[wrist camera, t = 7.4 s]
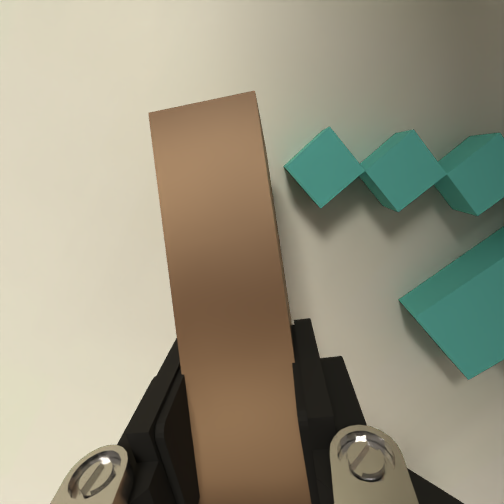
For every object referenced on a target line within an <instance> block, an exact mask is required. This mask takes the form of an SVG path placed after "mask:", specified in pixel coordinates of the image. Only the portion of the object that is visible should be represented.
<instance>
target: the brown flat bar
mask: <svg viewBox="0 0 504 504" xmlns="http://www.w3.org/2000/svg"><path fill="white" fill-rule="evenodd" d="M149 121H150V129H151V137H152V145H153V153H154V161H155V169H156V176H157V184H158V192H159V200H160V208H161V216H162V224H163V232H164V240H165V247H166V255H167V263H168V271H169V279H170V287H171V295H172V303H173V311H174V318H175V326H176V334H177V342H178V350H179V358H180V366H181V374H182V375H183V374H184V376H185V384H186V392H187V399H188V407H189V415H190V423H191V431H192V439H193V446H194V454H195V462H196V470H197V478H198V486H199V493H200V499H199V503H198V504H311V498H310V492H309V486H308V480H307V474H306V468H305V462H304V456H303V450H302V444H301V437H300V431H299V425H298V417H297V409H296V399H295V389H294V378H293V368H292V363H295V359H294V350H293V341H292V332H291V325H292V323H291V316H290V309H289V302H288V296H287V289H286V282H285V275H284V268H283V262H282V255H281V248H280V241H279V235H278V228H277V221H276V214H275V207H274V201H273V194H272V187H271V180H270V174H269V167H268V160H267V153H266V147H265V142H264V136H263V131H262V126H261V120H260V115H259V110H258V104H257V99H256V94H255V91H251V92H246V93H241V94H236V95H232V96H227V97H222V98H217V99H213V100H208V101H203V102H198V103H193V104H189V105H184V106H179V107H174V108H170V109H165V110H160V111H155V112H150V113H149Z"/></svg>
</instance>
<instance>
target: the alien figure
mask: <svg viewBox="0 0 504 504" xmlns="http://www.w3.org/2000/svg"><path fill="white" fill-rule="evenodd" d="M284 167H285V169H286V170H287V171H288V172H289V173H290V174H291V176H292V177H293V178H294V179H295V180H296V181H297V183H298V184H299V185H300V186H301V187H302V188H303V190H304V191H305V192H306V193H307V194H308V195H309V196H310V198H311V199H312V200H313V201H314V202H315V203H316V204H317V205H318V206H319V207H320V208H322V207H323V206H324V205H326V204H327V203H328V202H329V201H330V200H331V199H333V198H334V197H335V196H336V195H337V194H338V193H340V192H341V191H342V190H343V189H344V188H346V187H347V186H348V185H349V184H350V183H351V182H353V181H354V180H355V179H356V178H357V177H358V176H359V177H360V178H361V179H362V181H363V182H364V183H365V184H366V186H367V187H368V188H369V189H370V191H371V192H372V193H373V194H374V196H375V197H376V198H377V199H378V200H379V202H380V203H381V204H382V205H383V206H385V207H387V208H389V209H392V210H394V211H397V212H399V211H401V210H402V209H403V208H404V207H406V206H407V205H408V204H410V203H411V202H412V201H413V200H415V199H416V198H417V197H419V196H420V195H421V194H422V193H424V192H425V191H426V190H427V189H429V188H430V187H431V186H433V185H435V187H436V188H437V189H438V191H439V192H440V193H441V195H442V196H443V197H444V199H445V200H446V201H447V203H448V204H449V205H450V207H451V208H452V209H454V210H458V211H461V212H465V213H468V214H472V215H476V216H479V215H480V214H481V213H483V212H484V211H486V210H487V209H488V208H490V207H491V206H492V205H494V204H495V203H497V202H498V201H499V200H501V199H502V198H504V137H503V136H502V134H501V133H492V134H483V135H475V136H469V137H468V138H467V139H466V140H464V141H463V142H462V143H461V144H459V145H458V146H457V147H456V148H454V149H453V150H452V151H451V152H449V153H448V154H447V155H446V156H444V157H443V158H442V159H441V160H439V161H437V160H436V159H435V157H434V156H433V155H432V153H431V152H430V151H429V149H428V148H427V147H426V145H425V144H424V143H423V141H422V140H421V139H420V137H419V136H418V134H417V133H416V132H415V130H414V129H413V130H409V131H404V132H399V133H395V134H394V135H393V136H391V137H390V138H389V139H388V140H387V141H386V142H385V143H383V144H382V145H381V146H380V147H379V148H378V149H376V150H375V151H374V152H373V153H372V154H371V155H369V156H368V157H367V158H366V159H365V160H364V161H362V162H361V163H360V164H359V162H358V161H357V160H356V159H355V158H354V156H353V155H352V154H351V153H350V151H349V150H348V149H347V148H346V146H345V145H344V144H343V143H342V141H341V140H340V139H339V138H338V136H337V135H336V134H335V133H334V131H333V130H332V129H331V128H330V127H328V128H326V129H324V130H322V131H321V132H320V133H319V134H318V135H317V136H316V137H315V138H314V139H313V140H312V141H310V142H309V143H308V144H307V145H306V146H305V147H304V148H303V149H302V150H301V151H300V152H299V153H298V154H296V155H295V156H294V157H293V158H292V159H291V160H290V161H289V162H288V163H287V164H286V165H285V166H284ZM399 301H400V302H401V303H402V304H403V305H404V307H405V308H406V309H407V310H408V311H409V312H410V314H411V315H412V316H413V317H414V318H415V319H416V321H417V322H418V323H419V324H420V325H421V326H422V328H423V329H424V330H425V331H426V332H427V333H428V334H429V336H430V337H431V338H432V339H433V340H434V341H435V343H436V344H437V345H438V346H439V347H440V348H441V350H442V351H443V352H444V353H445V354H446V355H447V357H448V358H449V359H450V360H451V361H452V362H453V363H454V364H455V365H456V367H457V368H458V369H459V370H460V371H461V372H462V373H463V374H464V376H465V377H466V378H467V379H468V380H469V379H471V378H473V377H475V376H476V375H478V374H480V373H481V372H483V371H485V370H487V369H488V368H490V367H492V366H493V365H495V364H497V363H499V362H500V361H502V360H504V226H503V227H502V228H501V229H499V230H498V231H496V232H495V233H493V234H492V235H491V236H489V237H488V238H486V239H485V240H483V241H482V242H481V243H479V244H478V245H476V246H475V247H473V248H472V249H470V250H469V251H468V252H466V253H465V254H463V255H462V256H460V257H459V258H458V259H456V260H455V261H453V262H452V263H450V264H449V265H448V266H446V267H445V268H443V269H442V270H440V271H439V272H437V273H436V274H435V275H433V276H432V277H430V278H429V279H427V280H426V281H425V282H423V283H422V284H420V285H419V286H417V287H416V288H415V289H413V290H412V291H410V292H409V293H407V294H406V295H404V296H403V297H402V298H400V299H399Z"/></svg>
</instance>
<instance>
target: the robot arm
mask: <svg viewBox="0 0 504 504" xmlns="http://www.w3.org/2000/svg"><path fill="white" fill-rule="evenodd" d="M294 323H295V325H291V332H292V341H293V350H294V359H295V363H292V368H293V378H294V389H295V399H296V409H297V417H298V425H299V431H300V437H301V444H302V450H303V456H304V462H305V468H306V474H307V480H308V486H309V492H310V498H311V504H464V503H462V502H461V501H459V500H457V499H456V498H454V497H453V496H451V495H449V494H448V493H446V492H445V491H443V490H441V489H440V488H438V487H437V486H435V485H433V484H432V483H430V482H429V481H427V480H425V479H424V478H422V477H421V476H419V475H417V474H416V473H414V472H413V471H411V470H409V469H408V468H407V467H406V464H405V461H404V458H403V455H402V453H401V451H400V449H399V447H398V445H397V444H396V443H395V442H394V441H393V440H392V438H391V437H390V436H388V435H387V434H385V433H384V432H382V431H381V430H379V429H376V428H373V427H371V426H367V425H366V422H365V419H364V416H363V414H362V411H361V408H360V405H359V402H358V399H357V397H356V394H355V391H354V388H353V385H352V383H351V380H350V377H349V374H348V371H347V369H346V366H345V363H344V360H343V358H342V356H337V357H328V358H320V357H319V353H318V348H317V344H316V340H315V336H314V332H313V328H312V323H311V319H310V318H308V319H300V320H294ZM199 499H200V493H199V486H198V478H197V470H196V462H195V454H194V446H193V439H192V431H191V423H190V415H189V407H188V399H187V392H186V384H185V376H184V374H183V375H182V374H181V366H180V358H179V350H178V342H177V338H176V340H175V342H174V344H173V346H172V348H171V350H170V351H169V353H168V355H167V357H166V359H165V361H164V363H163V365H162V366H161V368H160V370H159V372H158V374H157V376H156V377H154V378H153V380H152V381H151V383H150V385H149V387H148V389H147V390H146V392H145V394H144V396H143V398H142V400H141V401H140V403H139V405H138V407H137V409H136V411H135V413H134V414H133V416H132V418H131V420H130V422H129V424H128V425H127V427H126V429H125V431H124V433H123V435H122V437H121V438H120V440H119V442H118V444H117V445H107V446H103V447H100V448H98V449H96V450H94V451H92V452H90V453H89V454H87V455H86V456H85V457H83V458H82V459H80V460H79V461H78V462H77V463H76V464H75V465H74V466H73V467H72V468H71V470H70V471H69V473H68V474H67V476H66V477H65V478H64V480H63V482H62V484H61V486H60V487H59V489H58V491H57V493H56V494H55V496H54V498H53V500H52V501H51V503H50V504H198V503H199Z"/></svg>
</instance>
